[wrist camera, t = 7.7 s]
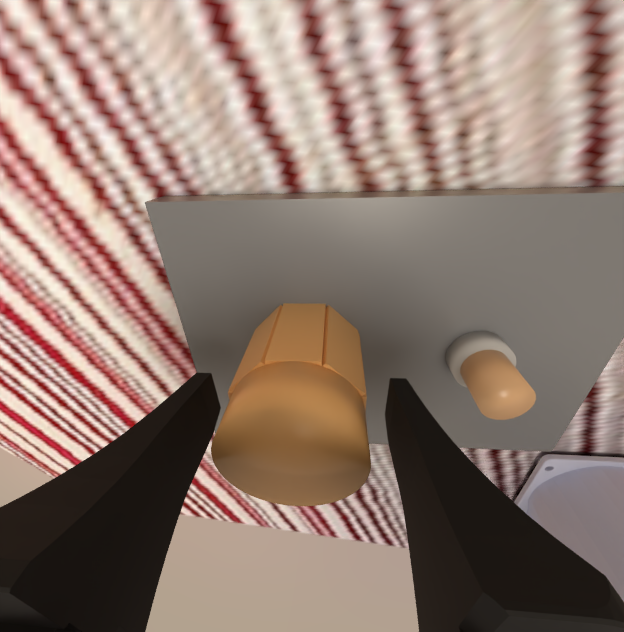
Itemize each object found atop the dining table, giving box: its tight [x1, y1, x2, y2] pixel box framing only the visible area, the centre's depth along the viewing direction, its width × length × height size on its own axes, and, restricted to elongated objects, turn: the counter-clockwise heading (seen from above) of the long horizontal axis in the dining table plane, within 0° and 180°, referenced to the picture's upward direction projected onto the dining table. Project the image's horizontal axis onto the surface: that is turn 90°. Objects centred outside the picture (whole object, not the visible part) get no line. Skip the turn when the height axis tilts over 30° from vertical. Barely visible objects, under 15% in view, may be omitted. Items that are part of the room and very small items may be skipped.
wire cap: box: [211, 303, 371, 506], centre depth 12 cm, size 5×5×6 cm
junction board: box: [145, 186, 624, 452], centre depth 13 cm, size 14×20×4 cm
